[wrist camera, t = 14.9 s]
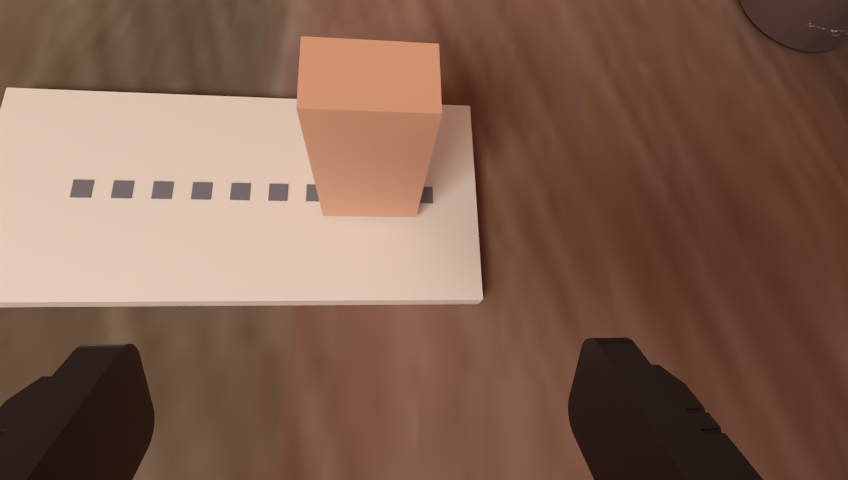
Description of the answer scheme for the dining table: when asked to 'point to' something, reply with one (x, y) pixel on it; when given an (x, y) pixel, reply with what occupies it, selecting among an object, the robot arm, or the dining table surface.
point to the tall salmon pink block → (369, 122)
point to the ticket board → (212, 209)
